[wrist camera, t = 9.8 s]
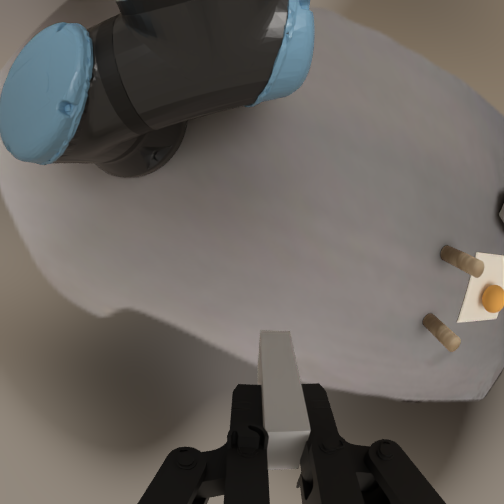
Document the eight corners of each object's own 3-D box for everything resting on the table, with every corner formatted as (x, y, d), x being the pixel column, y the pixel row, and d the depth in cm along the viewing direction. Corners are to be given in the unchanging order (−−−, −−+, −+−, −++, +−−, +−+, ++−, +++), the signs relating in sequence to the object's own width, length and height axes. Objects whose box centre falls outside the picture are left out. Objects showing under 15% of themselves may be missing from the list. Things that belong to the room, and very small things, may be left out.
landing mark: (476, 252, 40) (476, 252, 39) (513, 257, 40) (514, 257, 40) (456, 322, 43) (457, 322, 43) (495, 318, 43) (496, 318, 43)
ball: (491, 280, 42) (482, 282, 40) (511, 288, 37) (505, 291, 35) (484, 305, 43) (475, 309, 41) (503, 314, 38) (496, 319, 36)
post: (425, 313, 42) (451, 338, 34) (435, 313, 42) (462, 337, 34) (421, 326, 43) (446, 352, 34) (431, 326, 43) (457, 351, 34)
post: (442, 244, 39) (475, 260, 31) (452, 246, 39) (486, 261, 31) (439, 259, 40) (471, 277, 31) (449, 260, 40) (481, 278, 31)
